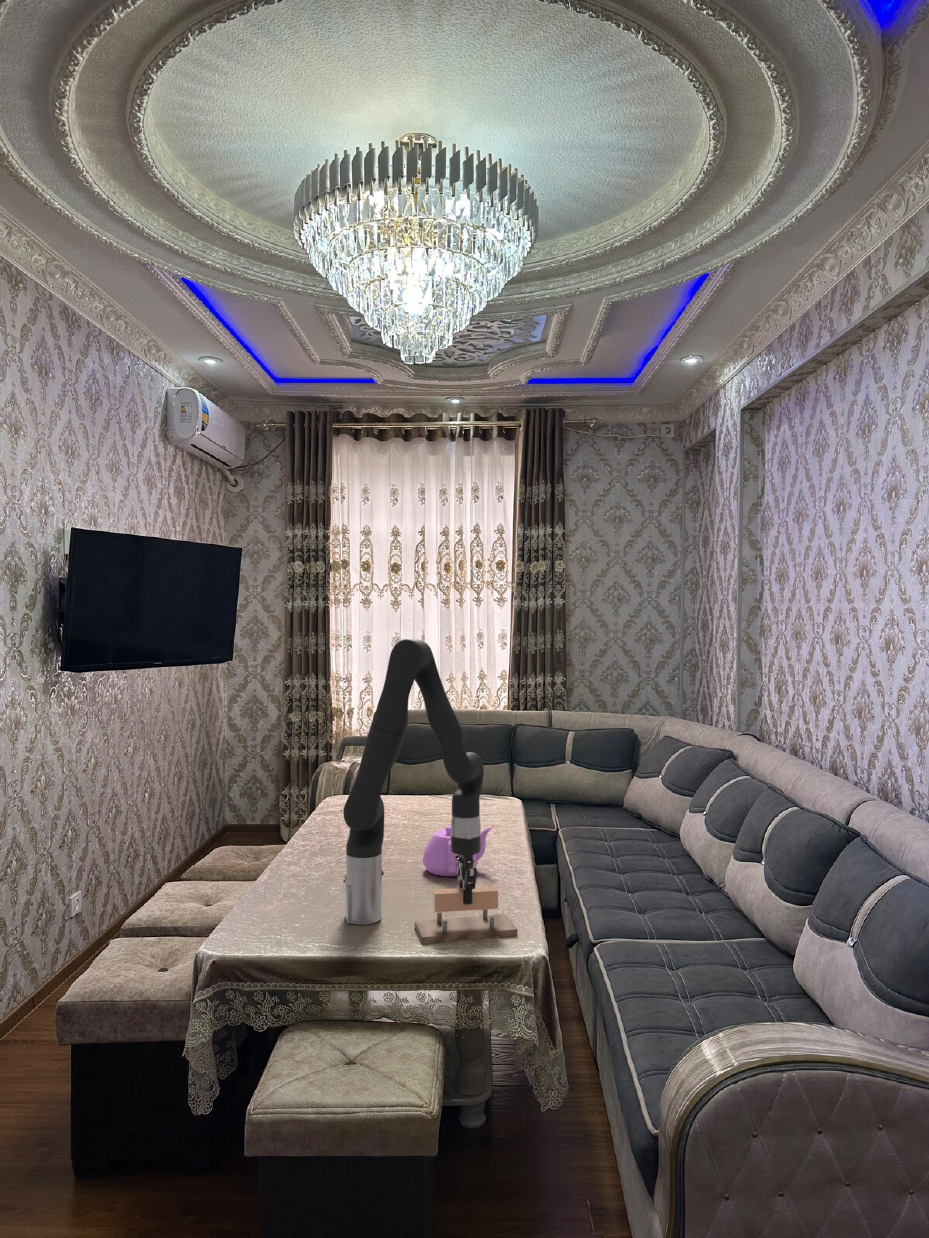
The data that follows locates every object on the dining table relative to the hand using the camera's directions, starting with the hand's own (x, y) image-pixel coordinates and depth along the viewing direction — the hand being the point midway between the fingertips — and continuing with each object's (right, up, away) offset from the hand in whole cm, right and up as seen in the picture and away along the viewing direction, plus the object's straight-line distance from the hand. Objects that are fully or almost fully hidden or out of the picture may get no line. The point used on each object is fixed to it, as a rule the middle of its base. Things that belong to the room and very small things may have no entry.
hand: (465, 900), depth 213 cm
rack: (0, -8, 0) cm, 8 cm away
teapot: (-2, -7, +50) cm, 50 cm away
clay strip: (0, -2, 0) cm, 2 cm away
